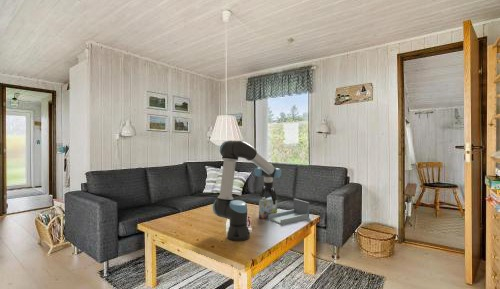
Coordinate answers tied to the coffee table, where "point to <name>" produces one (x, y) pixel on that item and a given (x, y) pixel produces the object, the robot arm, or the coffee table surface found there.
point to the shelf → (292, 213)
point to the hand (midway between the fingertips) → (268, 206)
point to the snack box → (266, 208)
